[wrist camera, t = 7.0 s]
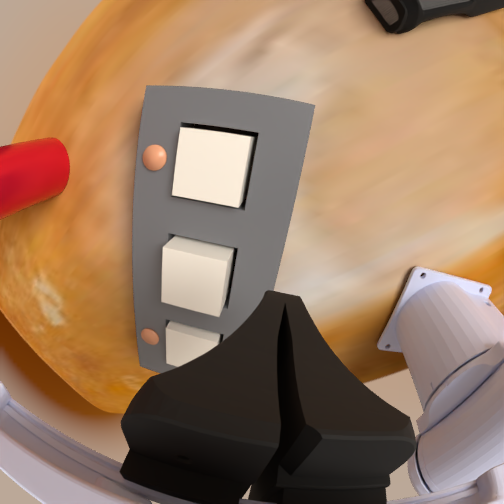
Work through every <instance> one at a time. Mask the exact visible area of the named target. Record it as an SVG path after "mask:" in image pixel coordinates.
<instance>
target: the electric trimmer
mask: <svg viewBox="0 0 504 504" xmlns="http://www.w3.org/2000/svg"><path fill="white" fill-rule="evenodd" d="M365 2H366V4H367V5H368V7H369V8H370V9H371V11H372V12H373V13H374V15H375V16H376V17H377V19H378V20H379V21H380V23H381V24H382V26H383V27H384V28H385V30H386V31H387V32H389V33H393V32H396V33H398V34H401V33H404V32H408V31H410V30H412V29H414V28H415V27H416V26H418V25H419V24H420V23H421V22H424V21H428V20H431V19H434V18H438V17H442V16H446V15H451V14H461V13H464V14H466V15H467V16H469V17H473V16H478V15H481V14H484V13H487V12H490V11H494V10H497V9H501V8H504V0H365Z"/></svg>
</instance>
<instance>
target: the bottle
mask: <svg viewBox="0 0 504 504" xmlns="http://www.w3.org/2000/svg"><path fill="white" fill-rule="evenodd" d="M69 171H70V165H69V158H68V154H67V151H66V149H65V147H64V145H63V144H62V143H61V142H60V141H59V140H58V139H56V138H43V139H37V140H31V141H26V142H20V143H15V144H10V145H6V146H1V147H0V220H1V219H3V218H6V217H8V216H10V215H12V214H14V213H16V212H19V211H21V210H23V209H25V208H28V207H30V206H32V205H35V204H37V203H40V202H42V201H44V200H47V199H49V198H52V197H55V196H57V195H59V194H60V193H61V192H62V191H63V190H64V188H65V186H66V184H67V182H68V178H69Z"/></svg>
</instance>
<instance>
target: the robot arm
mask: <svg viewBox="0 0 504 504" xmlns="http://www.w3.org/2000/svg"><path fill="white" fill-rule="evenodd" d="M422 273H424V275H423V276H420V275H421V274H422ZM480 288H481V289H480ZM490 293H491V287H490V286H489V285H487V284H483V283H479V282H476V281H472V280H468V279H465V278H461V277H457V276H453V275H450V274H446V273H442V272H438V271H434V270H431V269H427V268H423V267H414V268H413V269H412V271H411V273H410V276H409V278H408V280H407V283H406V285H405V287H404V290H403V292H402V294H401V296H400V299H399V301H398V303H397V305H396V307H395V309H394V311H393V313H392V315H391V317H390V319H389V321H388V323H387V325H386V327H385V329H384V331H383V333H382V335H381V337H380V339H379V341H378V343H377V347H378V349H380V350H386V351H394V352H403V355H404V357H405V360H406V363H407V365H408V368H409V371H410V373H411V376H412V379H413V382H414V384H415V387H416V390H417V393H418V396H419V399H420V402H421V405H422V408H423V411H424V413H423V414H422V416H421V417H420V418H418V419H417V420H416V421H417V425H418V429H419V432H420V434H418V435H417V436H416V437H415V434H414V430H413V427H412V423H411V420H410V417H408V416H407V415H405V414H404V413H402V412H401V411H399V410H397V409H396V408H394V407H393V406H391V405H389V404H388V403H386V402H385V401H384V400H382V399H381V398H380V397H379V396H377V395H376V394H374V393H373V392H372V391H371V390H369V389H368V388H367V387H366V386H365V385H364V384H363V383H362V382H361V381H359V380H358V379H357V378H356V377H355V376H354V375H353V374H352V373H351V372H350V371H349V370H348V369H347V368H346V367H345V365H344V364H343V363H342V362H341V361H340V360H339V358H338V357H337V356H336V355H335V354H334V352H333V351H332V350H331V349H330V347H329V346H328V344H327V343H326V341H325V340H324V339H323V337H322V336H321V334H320V332H319V331H318V329H317V327H316V326H315V324H314V322H313V320H312V319H311V317H310V315H309V313H308V311H307V309H306V307H305V305H304V303H303V301H302V299H301V298H300V297H299V296H295V295H290V294H285V293H280V292H276V291H271V290H267V291H266V292H265V293H264V296H263V298H262V300H261V302H260V303H259V305H258V306H257V307H256V309H255V310H254V311H253V312H252V314H251V315H250V316H249V317H248V318H247V319H246V321H245V322H244V323H243V324H242V325H241V326H240V327H239V328H238V329H237V330H236V331H234V332H233V333H232V334H231V335H230V336H229V337H227V338H226V339H225V340H224V341H222V342H221V343H220V344H218V345H217V346H215V347H214V348H212V349H211V350H209V351H208V352H206V353H205V354H203V355H201V356H199V357H197V358H195V359H193V360H191V361H189V362H188V363H186V364H184V365H181V366H179V367H177V368H174V369H172V370H169V371H166V372H164V373H161V374H158V375H155V376H152V377H150V378H149V379H148V380H147V382H146V383H145V384H144V385H143V386H142V387H141V389H140V390H139V391H138V393H137V394H136V395H135V396H134V398H133V399H132V401H131V403H130V404H129V406H128V408H127V410H126V412H125V414H124V416H123V418H122V420H121V428H122V430H123V433H124V436H125V438H126V441H127V443H128V446H129V448H130V450H129V452H128V454H127V456H126V458H125V460H124V463H123V464H122V463H120V462H117V461H115V460H113V459H111V458H109V457H106V456H104V455H102V454H100V453H98V452H96V451H94V450H92V449H90V448H88V447H86V446H84V445H83V444H81V443H79V442H77V441H75V440H74V439H72V438H70V437H68V436H67V435H65V434H63V433H61V432H60V431H58V430H57V429H55V428H54V427H52V426H50V425H48V424H47V423H46V422H44V421H43V420H41V419H40V418H38V417H37V416H35V415H34V414H33V413H31V412H30V411H28V410H27V409H26V408H24V407H23V406H22V405H20V404H19V403H17V402H16V401H15V400H14V399H12V398H11V395H10V393H9V392H8V390H7V388H6V387H5V386H4V384H3V383H2V382H1V381H0V469H1V470H2V471H3V472H4V473H5V474H6V475H8V476H9V477H10V478H11V479H12V480H13V481H15V482H16V483H17V484H18V485H19V486H20V487H22V488H23V489H24V490H25V491H27V492H28V493H29V494H31V495H32V496H33V497H34V498H36V499H37V500H39V501H40V502H41V503H43V504H152V503H151V501H154V502H157V503H160V504H504V316H503V315H502V314H501V312H500V311H499V310H498V309H497V308H496V307H495V306H494V304H493V303H492V302H491V301H490V300H489V299H488V297H489V295H490ZM388 344H389V345H388ZM386 345H388V346H386ZM407 460H408V473H409V477H410V480H411V483H412V485H413V487H414V489H415V490H416V492H417V493H418V494H419V496H415V497H409V498H404V499H398V500H392V501H387V499H386V489H385V488H386V487H388V486H389V485H390V477H389V474H391V473H392V472H393V471H395V470H396V469H397V468H399V467H400V466H401V465H402V464H404V463H405V462H406V461H407ZM251 484H252V485H251ZM250 486H251V490H250V494H249V498H248V500H247V499H242V497H243V496H244V494H245V493H246V491H247V490H248V489H249V487H250ZM145 498H146V499H145ZM150 500H151V501H150Z"/></svg>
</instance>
